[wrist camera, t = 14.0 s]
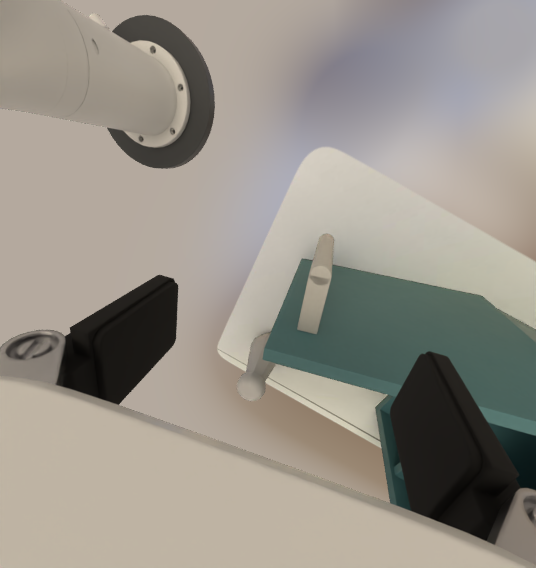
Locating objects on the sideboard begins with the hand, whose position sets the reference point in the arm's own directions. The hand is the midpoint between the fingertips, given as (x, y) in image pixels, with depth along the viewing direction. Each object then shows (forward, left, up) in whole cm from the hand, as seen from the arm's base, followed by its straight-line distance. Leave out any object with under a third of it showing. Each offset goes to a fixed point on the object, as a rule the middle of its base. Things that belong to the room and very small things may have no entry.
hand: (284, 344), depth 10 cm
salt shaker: (+13, -21, -33) cm, 41 cm away
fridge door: (+11, +4, -32) cm, 35 cm away
